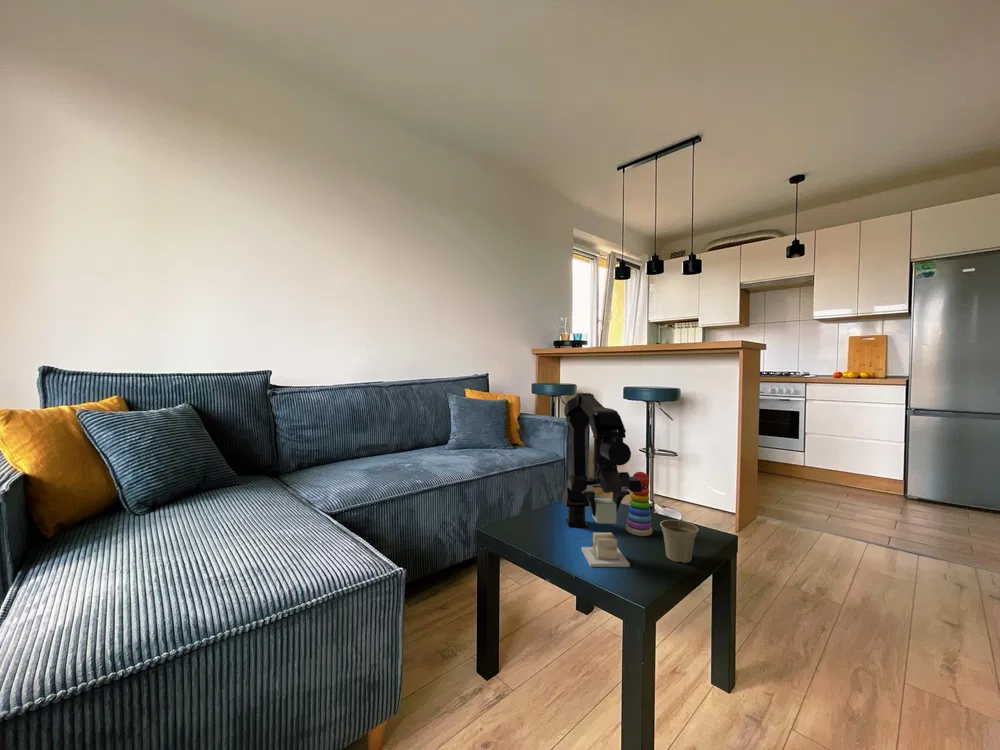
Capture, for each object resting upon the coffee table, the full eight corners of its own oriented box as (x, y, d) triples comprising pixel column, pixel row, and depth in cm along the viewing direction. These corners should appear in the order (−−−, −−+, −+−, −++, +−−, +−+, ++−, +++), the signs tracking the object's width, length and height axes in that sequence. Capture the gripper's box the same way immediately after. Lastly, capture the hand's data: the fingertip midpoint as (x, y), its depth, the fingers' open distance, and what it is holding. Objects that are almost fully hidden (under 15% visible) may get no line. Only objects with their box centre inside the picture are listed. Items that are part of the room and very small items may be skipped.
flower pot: (694, 570, 102) (695, 535, 102) (655, 559, 107) (656, 527, 107) (700, 556, 110) (701, 524, 110) (664, 547, 115) (664, 517, 115)
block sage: (592, 516, 111) (592, 498, 111) (610, 516, 111) (610, 498, 111) (597, 523, 106) (597, 504, 106) (616, 523, 106) (616, 504, 106)
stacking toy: (647, 539, 121) (648, 476, 121) (621, 532, 126) (622, 472, 126) (655, 531, 127) (656, 471, 127) (630, 525, 132) (631, 468, 132)
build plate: (581, 549, 113) (581, 546, 113) (617, 549, 113) (617, 547, 113) (590, 566, 103) (590, 563, 103) (629, 566, 103) (629, 563, 103)
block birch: (592, 550, 110) (593, 532, 110) (611, 550, 111) (611, 532, 111) (597, 559, 105) (598, 540, 105) (616, 559, 106) (617, 540, 106)
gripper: (576, 463, 100) (575, 527, 100) (651, 464, 100) (650, 527, 100) (567, 455, 111) (567, 512, 111) (635, 455, 112) (634, 512, 111)
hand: (604, 516), depth 108 cm, fingers closed on block sage, 5 cm apart
